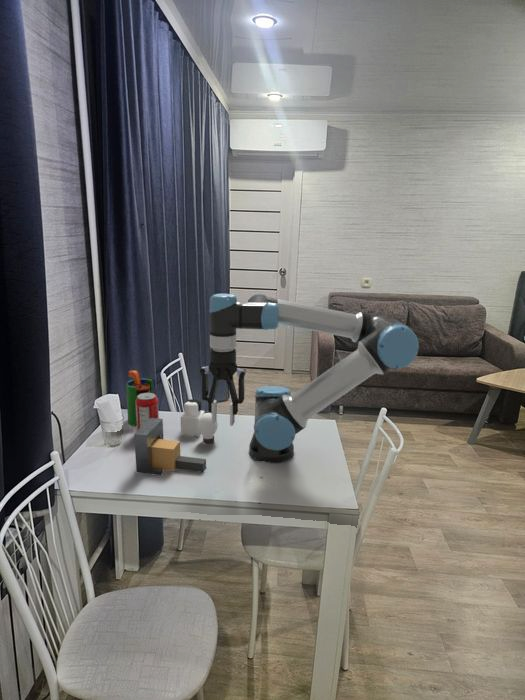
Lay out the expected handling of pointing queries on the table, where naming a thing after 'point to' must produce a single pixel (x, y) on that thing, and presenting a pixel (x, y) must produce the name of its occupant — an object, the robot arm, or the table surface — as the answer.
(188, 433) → the medicine bottle
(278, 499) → the table surface
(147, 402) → the soda can
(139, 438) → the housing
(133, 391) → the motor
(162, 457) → the plug
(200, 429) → the light bulb
